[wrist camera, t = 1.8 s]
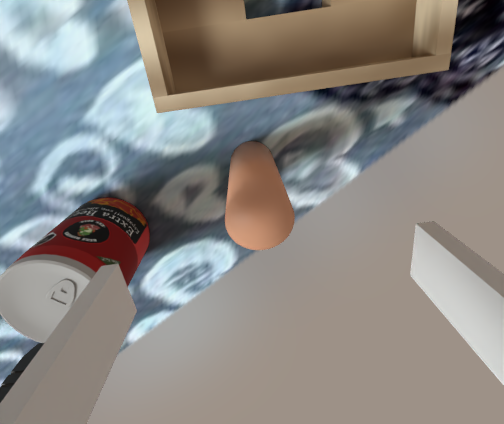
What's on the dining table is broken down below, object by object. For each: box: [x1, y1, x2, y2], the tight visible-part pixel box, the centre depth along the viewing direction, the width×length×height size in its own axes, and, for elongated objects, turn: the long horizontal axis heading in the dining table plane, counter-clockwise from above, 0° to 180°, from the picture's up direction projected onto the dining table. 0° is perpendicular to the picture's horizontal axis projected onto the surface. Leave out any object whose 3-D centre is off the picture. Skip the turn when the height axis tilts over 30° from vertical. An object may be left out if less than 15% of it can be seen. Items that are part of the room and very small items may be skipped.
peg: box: [225, 141, 294, 250], centre depth 22 cm, size 4×4×12 cm
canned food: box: [0, 197, 150, 343], centre depth 25 cm, size 8×8×11 cm
